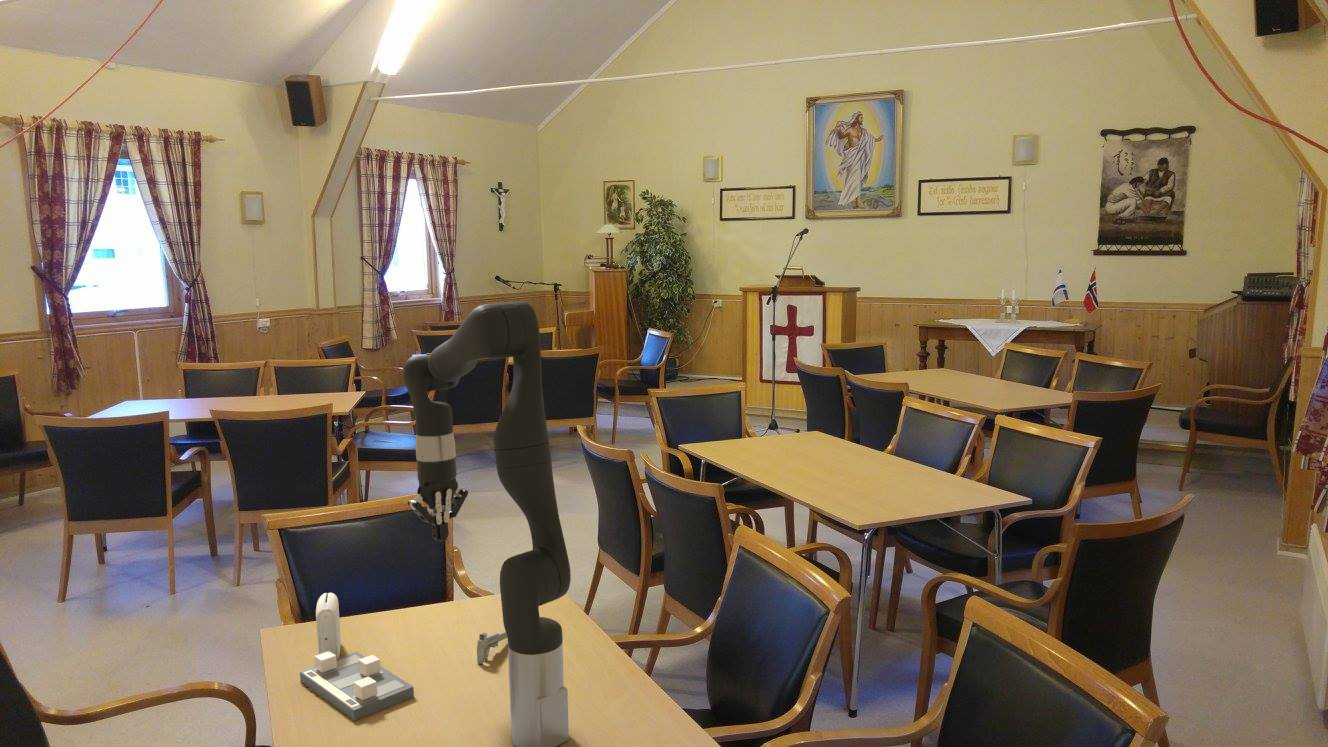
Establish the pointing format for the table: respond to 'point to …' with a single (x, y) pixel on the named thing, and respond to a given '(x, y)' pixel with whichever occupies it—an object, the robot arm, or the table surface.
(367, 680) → the tab
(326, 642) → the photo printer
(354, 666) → the switch board
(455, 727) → the table surface
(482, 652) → the caliper
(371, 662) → the middle tab
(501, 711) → the table surface
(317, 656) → the tab
